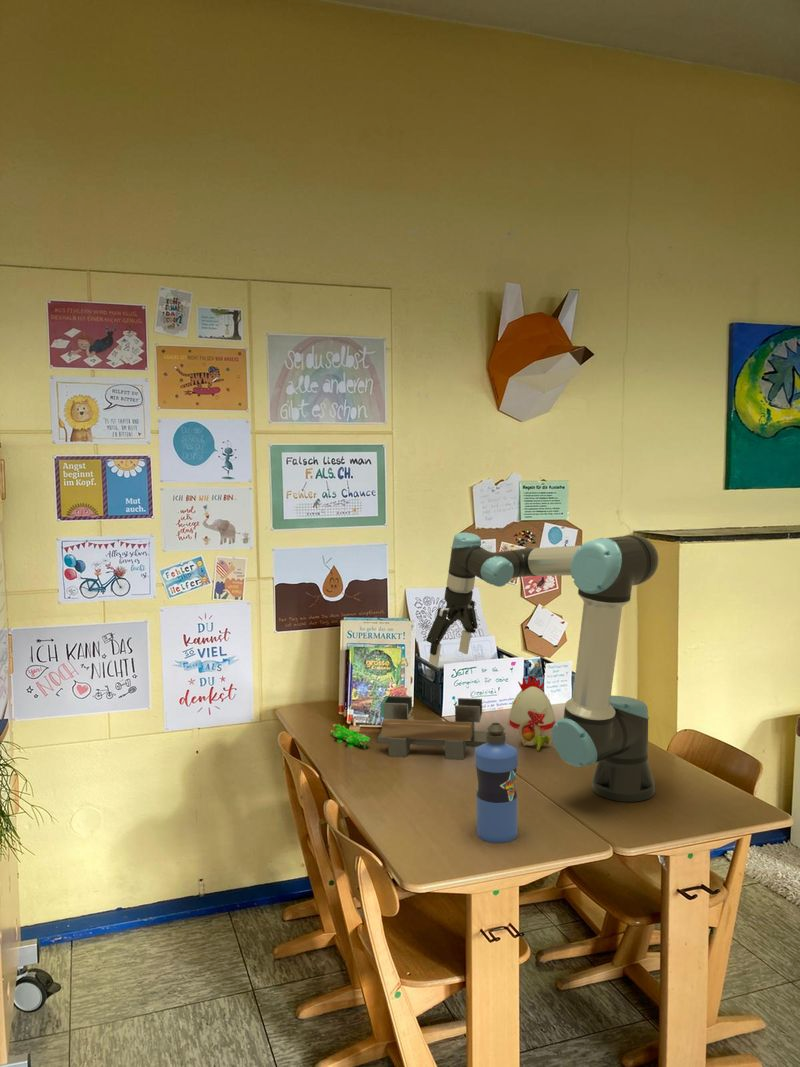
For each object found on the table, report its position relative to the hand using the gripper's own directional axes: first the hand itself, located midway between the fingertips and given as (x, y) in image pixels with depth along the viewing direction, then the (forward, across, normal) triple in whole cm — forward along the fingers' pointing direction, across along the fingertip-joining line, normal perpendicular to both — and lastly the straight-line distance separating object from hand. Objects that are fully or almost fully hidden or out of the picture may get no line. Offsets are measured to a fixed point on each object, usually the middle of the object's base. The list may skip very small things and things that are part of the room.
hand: (448, 658), depth 235 cm
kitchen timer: (+26, -31, +13) cm, 43 cm away
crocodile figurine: (+32, +15, -20) cm, 40 cm away
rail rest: (+26, +9, +4) cm, 27 cm away
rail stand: (+28, -2, -2) cm, 28 cm away
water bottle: (+14, +36, +46) cm, 60 cm away
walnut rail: (+21, +8, +3) cm, 23 cm away
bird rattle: (+22, -14, +24) cm, 35 cm away
